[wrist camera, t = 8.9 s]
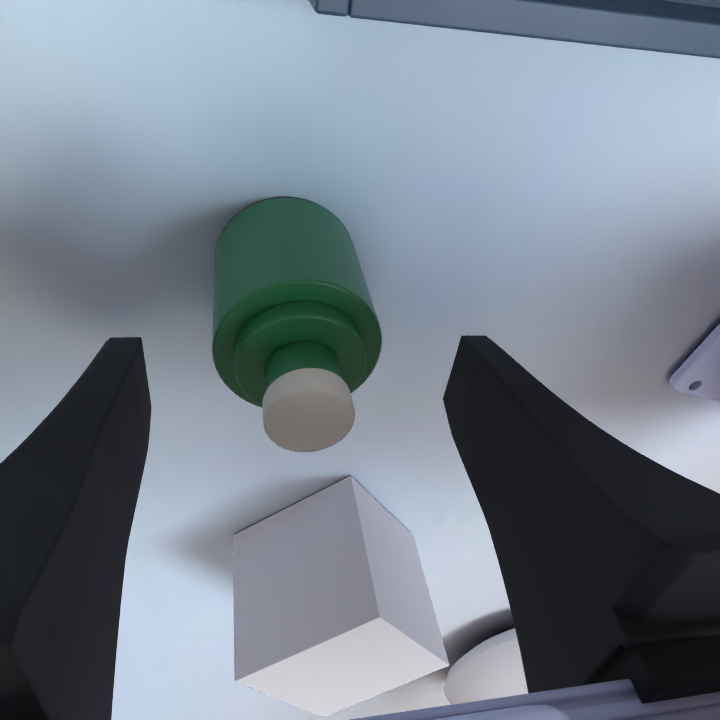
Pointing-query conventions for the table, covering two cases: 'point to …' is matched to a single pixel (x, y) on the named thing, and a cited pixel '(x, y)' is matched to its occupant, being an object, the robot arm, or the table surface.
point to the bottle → (293, 320)
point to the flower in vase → (488, 671)
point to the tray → (559, 20)
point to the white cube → (331, 603)
